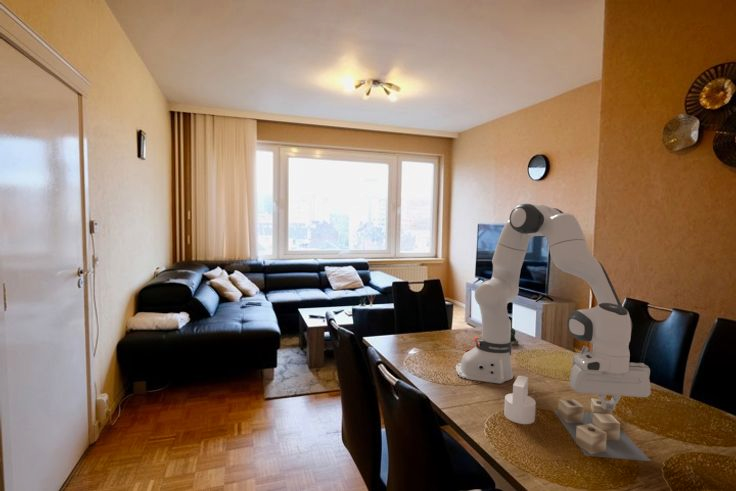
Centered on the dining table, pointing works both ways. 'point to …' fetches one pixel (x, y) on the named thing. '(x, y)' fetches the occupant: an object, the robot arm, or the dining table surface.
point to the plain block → (607, 425)
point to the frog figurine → (513, 337)
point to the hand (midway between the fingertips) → (608, 408)
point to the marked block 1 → (571, 411)
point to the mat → (608, 442)
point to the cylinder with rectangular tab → (520, 403)
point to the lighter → (584, 350)
